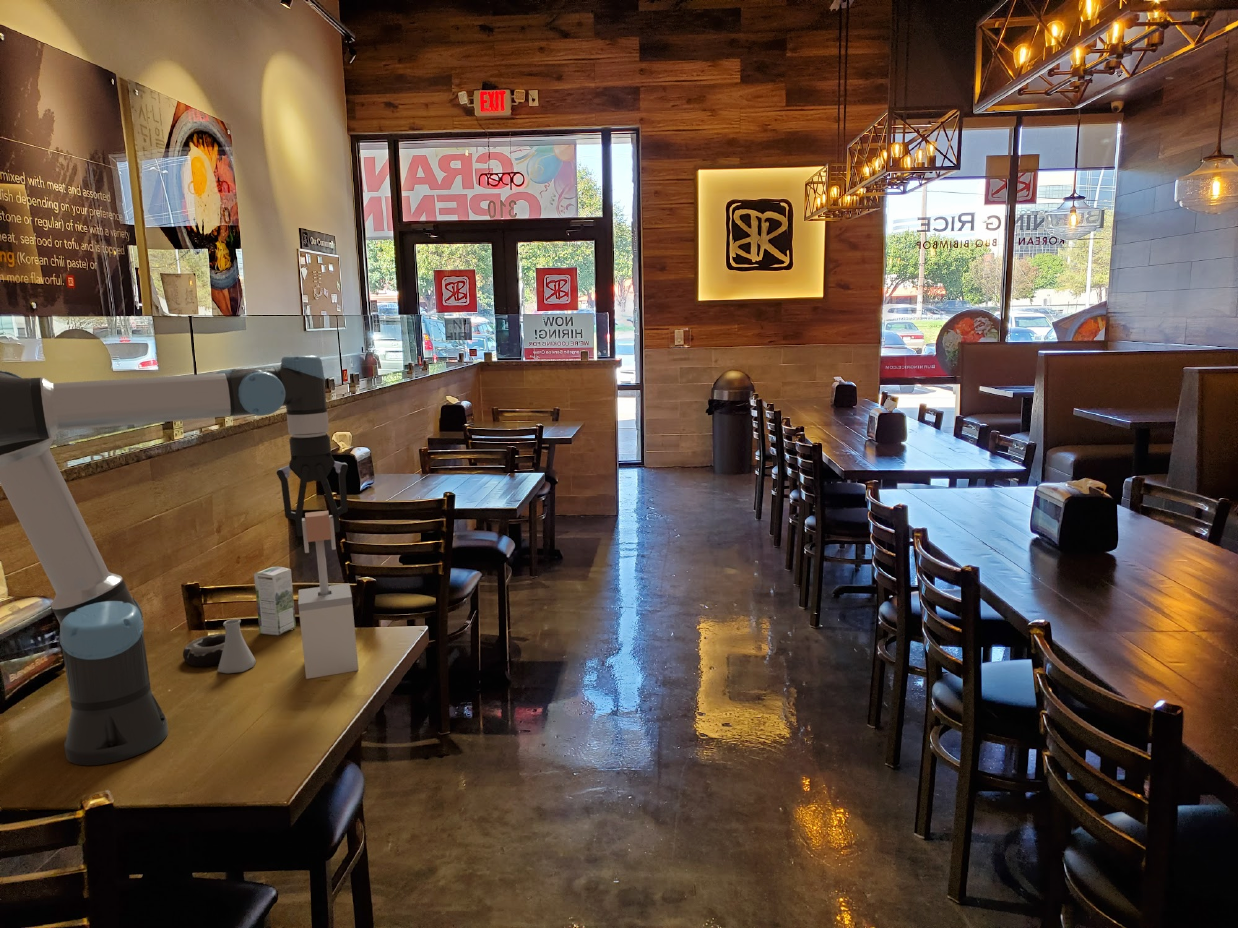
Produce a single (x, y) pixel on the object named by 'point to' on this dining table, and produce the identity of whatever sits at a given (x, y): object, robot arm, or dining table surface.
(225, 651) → the flask
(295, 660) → the dining table surface
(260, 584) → the syrup box
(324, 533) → the pump plunger
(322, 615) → the slotted white box
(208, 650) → the donut
